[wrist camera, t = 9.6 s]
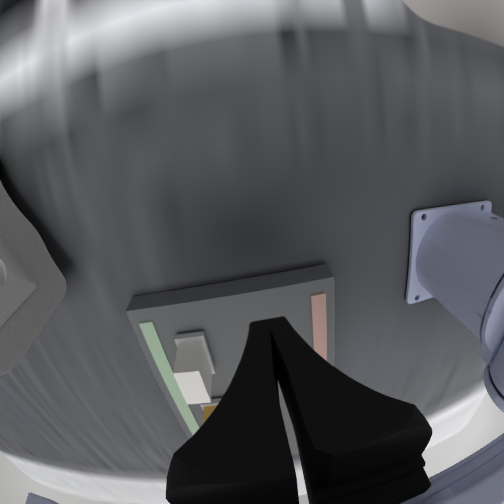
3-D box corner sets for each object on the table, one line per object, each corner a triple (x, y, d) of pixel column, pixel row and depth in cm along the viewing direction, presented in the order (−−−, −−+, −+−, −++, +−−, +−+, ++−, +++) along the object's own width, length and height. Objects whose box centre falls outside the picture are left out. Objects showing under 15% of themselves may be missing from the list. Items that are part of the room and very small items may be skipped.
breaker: (203, 331, 19) (200, 366, 16) (215, 368, 21) (215, 404, 17) (175, 334, 19) (168, 370, 16) (189, 372, 21) (185, 407, 17)
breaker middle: (224, 397, 22) (225, 431, 19) (233, 421, 23) (234, 453, 20) (200, 400, 22) (198, 434, 19) (211, 424, 23) (210, 455, 20)
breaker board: (325, 264, 21) (335, 277, 19) (325, 434, 29) (329, 448, 27) (133, 296, 21) (124, 312, 19) (206, 452, 29) (205, 467, 27)
